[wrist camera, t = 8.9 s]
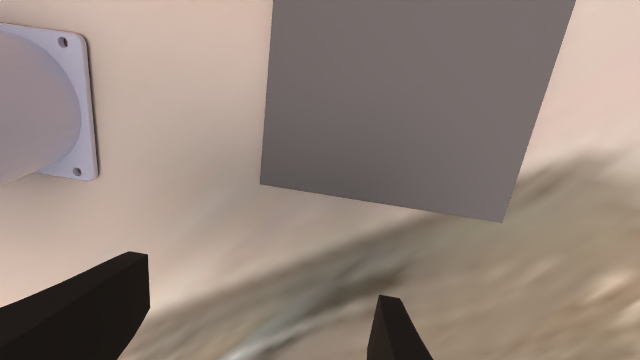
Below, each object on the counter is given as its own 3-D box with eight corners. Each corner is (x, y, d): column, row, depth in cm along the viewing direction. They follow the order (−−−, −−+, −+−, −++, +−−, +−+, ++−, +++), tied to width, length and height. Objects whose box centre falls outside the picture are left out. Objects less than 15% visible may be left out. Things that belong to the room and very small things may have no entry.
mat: (262, 180, 22) (259, 184, 22) (282, -95, 17) (280, -98, 17) (499, 218, 21) (502, 222, 21) (589, -59, 17) (596, -61, 16)
